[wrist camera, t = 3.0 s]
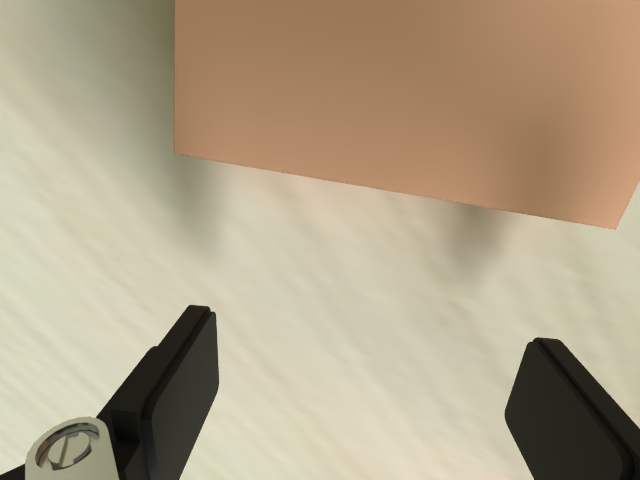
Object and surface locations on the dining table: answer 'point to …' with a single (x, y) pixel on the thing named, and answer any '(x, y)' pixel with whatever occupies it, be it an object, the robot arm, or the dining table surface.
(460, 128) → the terracotta tile
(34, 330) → the dining table surface
